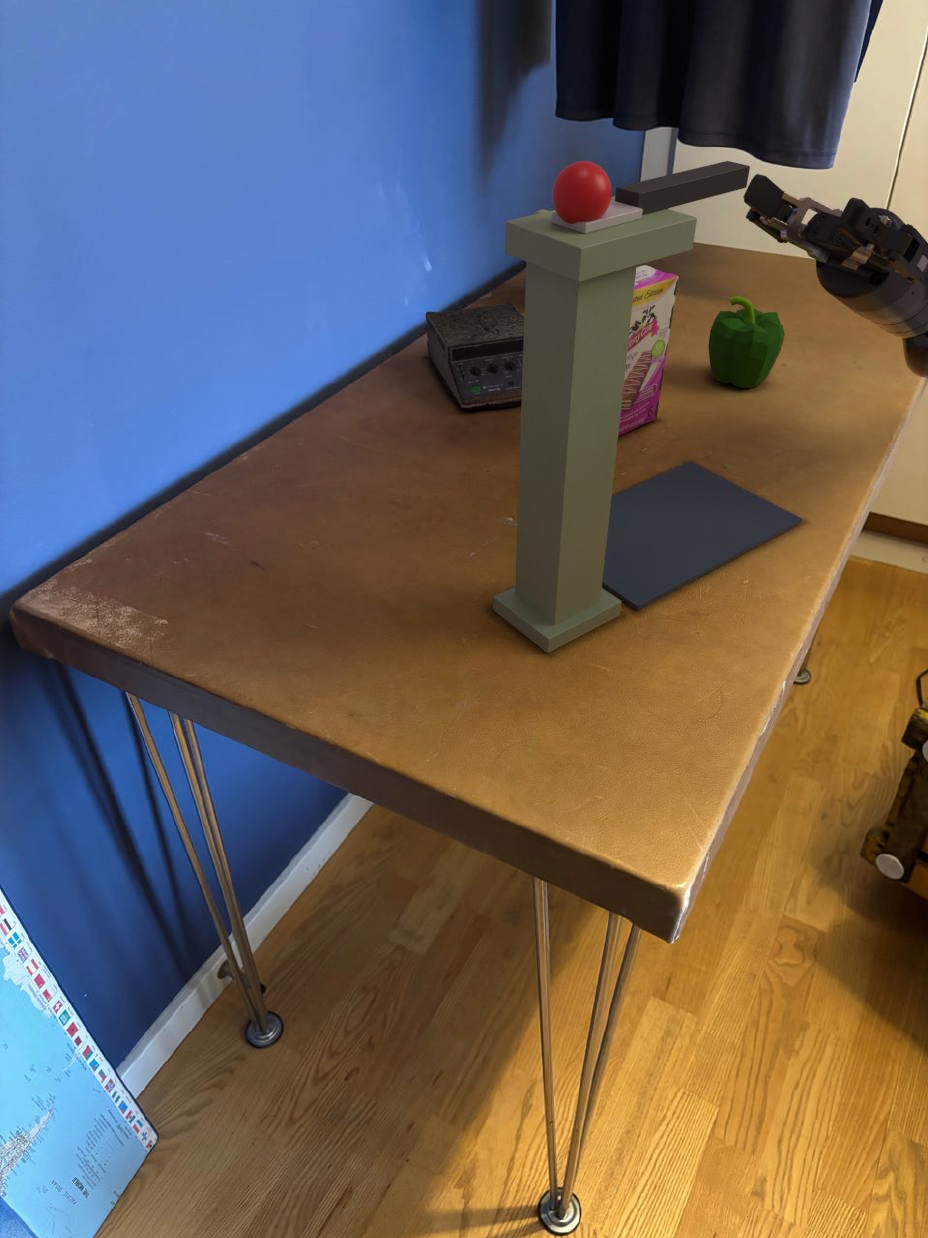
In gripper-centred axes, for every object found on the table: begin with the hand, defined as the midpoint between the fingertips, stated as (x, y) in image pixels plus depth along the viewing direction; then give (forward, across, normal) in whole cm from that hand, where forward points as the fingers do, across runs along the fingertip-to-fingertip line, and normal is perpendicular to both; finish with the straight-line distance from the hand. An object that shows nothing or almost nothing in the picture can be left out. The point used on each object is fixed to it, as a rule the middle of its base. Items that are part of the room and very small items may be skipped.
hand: (797, 198), depth 68 cm
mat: (-10, +3, -28) cm, 30 cm away
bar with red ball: (+15, 0, -6) cm, 16 cm away
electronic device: (-16, +40, -24) cm, 49 cm away
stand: (+3, 0, -35) cm, 35 cm away
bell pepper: (-37, +21, -12) cm, 44 cm away
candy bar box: (-19, +21, -23) cm, 36 cm away
